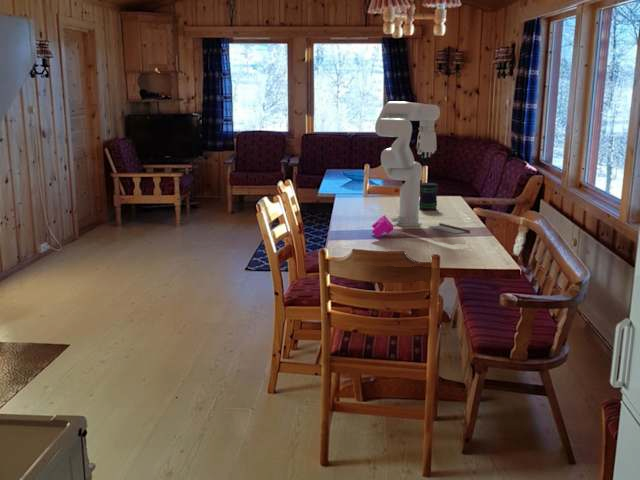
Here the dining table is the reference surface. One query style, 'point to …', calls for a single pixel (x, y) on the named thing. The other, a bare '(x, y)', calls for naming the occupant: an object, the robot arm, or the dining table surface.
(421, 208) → the storage jar
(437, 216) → the dining table surface
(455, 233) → the felt mat
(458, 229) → the stop rail
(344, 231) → the dining table surface
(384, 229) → the toy block
